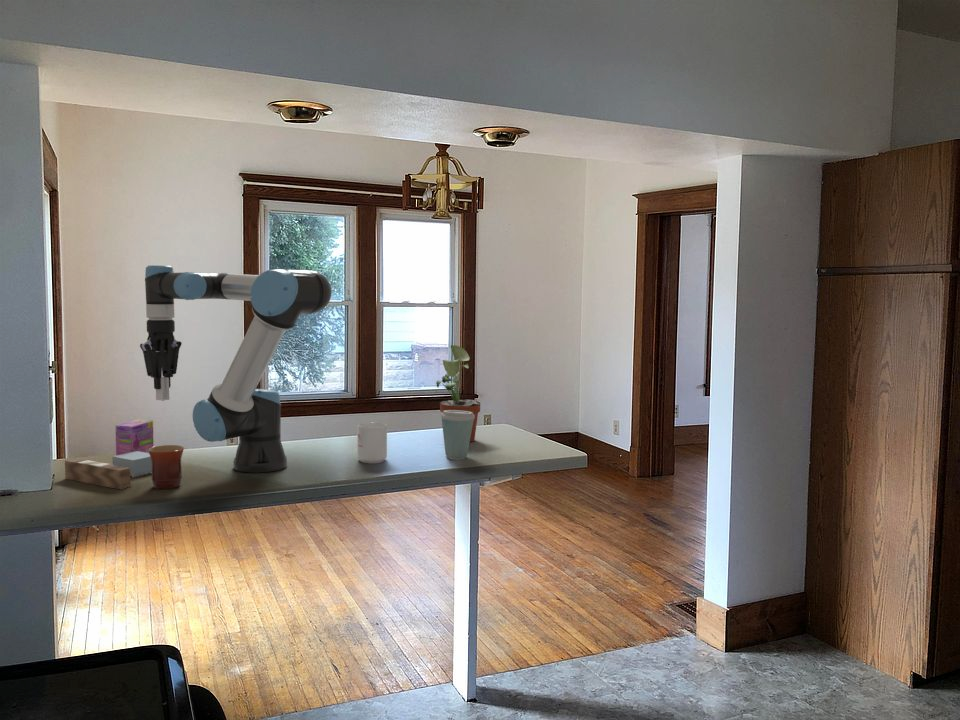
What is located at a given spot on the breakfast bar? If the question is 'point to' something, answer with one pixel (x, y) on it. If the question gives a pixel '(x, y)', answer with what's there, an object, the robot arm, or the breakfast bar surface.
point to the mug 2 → (372, 442)
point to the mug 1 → (166, 466)
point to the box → (134, 436)
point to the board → (97, 473)
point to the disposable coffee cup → (457, 432)
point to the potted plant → (457, 404)
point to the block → (134, 462)
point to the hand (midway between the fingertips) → (162, 399)
